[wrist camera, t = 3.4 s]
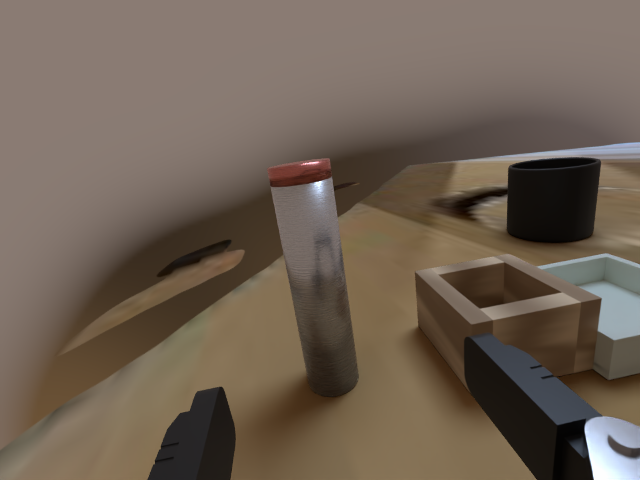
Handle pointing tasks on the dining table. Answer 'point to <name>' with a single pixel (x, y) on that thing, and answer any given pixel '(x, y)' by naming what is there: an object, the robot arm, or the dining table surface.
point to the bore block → (508, 312)
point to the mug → (553, 198)
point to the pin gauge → (316, 272)
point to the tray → (610, 309)
